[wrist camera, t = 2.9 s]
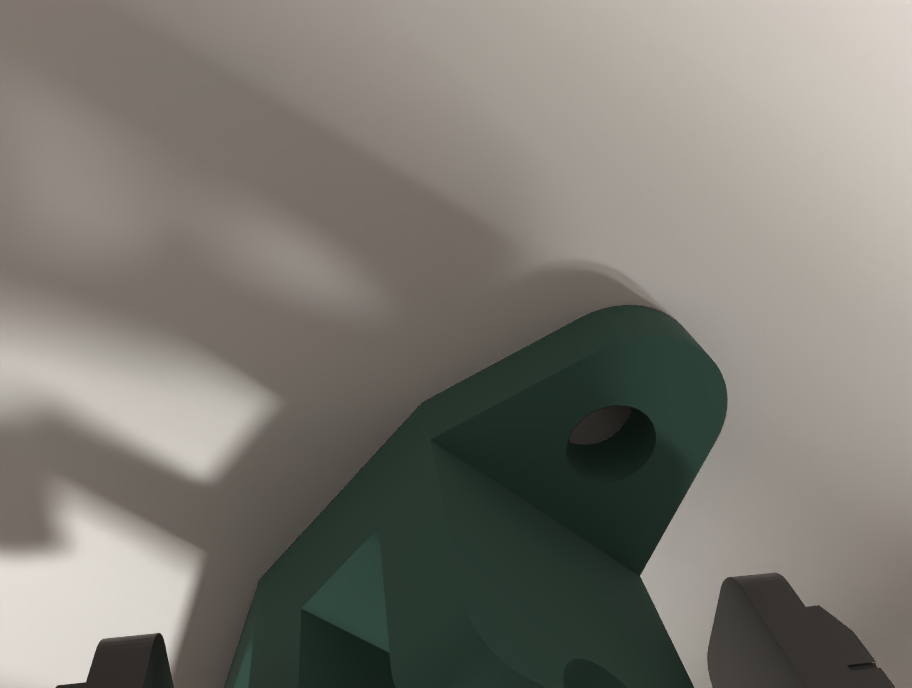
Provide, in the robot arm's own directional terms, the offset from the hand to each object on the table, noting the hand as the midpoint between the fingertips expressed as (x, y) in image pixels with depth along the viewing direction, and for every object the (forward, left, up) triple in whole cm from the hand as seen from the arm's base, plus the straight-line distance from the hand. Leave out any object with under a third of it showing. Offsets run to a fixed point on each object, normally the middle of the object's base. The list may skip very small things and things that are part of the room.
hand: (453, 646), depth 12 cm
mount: (0, 0, -3) cm, 3 cm away
